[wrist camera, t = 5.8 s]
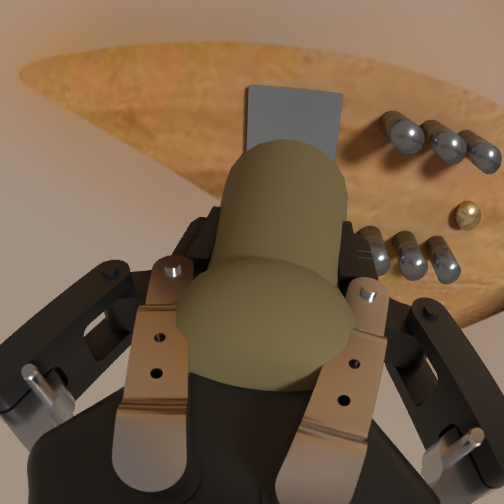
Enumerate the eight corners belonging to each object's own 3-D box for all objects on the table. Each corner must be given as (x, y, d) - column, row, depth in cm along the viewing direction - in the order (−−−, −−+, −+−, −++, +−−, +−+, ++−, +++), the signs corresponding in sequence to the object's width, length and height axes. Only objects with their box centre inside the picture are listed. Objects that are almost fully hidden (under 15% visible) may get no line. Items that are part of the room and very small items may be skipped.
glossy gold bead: (476, 198, 27) (481, 203, 26) (476, 222, 29) (480, 227, 28) (453, 202, 28) (457, 207, 27) (453, 226, 30) (457, 232, 29)
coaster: (341, 93, 25) (342, 94, 24) (331, 176, 29) (332, 179, 29) (249, 84, 25) (248, 85, 25) (247, 167, 30) (246, 169, 30)
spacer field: (479, 133, 24) (504, 149, 19) (441, 256, 32) (455, 285, 28) (381, 108, 25) (396, 119, 21) (355, 245, 33) (360, 275, 29)
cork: (280, 268, 18) (249, 464, 9) (200, 192, 16) (87, 376, 7) (371, 207, 15) (425, 420, 6) (290, 112, 13) (253, 263, 4)
